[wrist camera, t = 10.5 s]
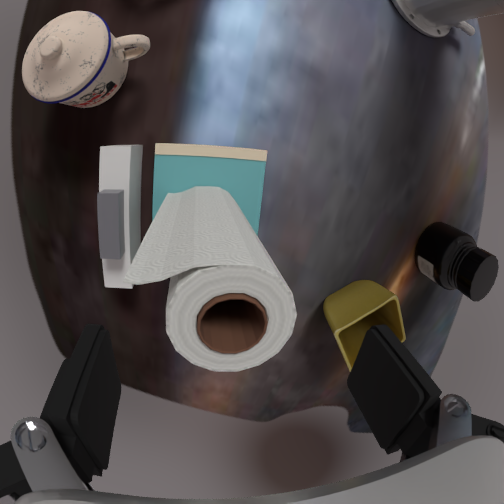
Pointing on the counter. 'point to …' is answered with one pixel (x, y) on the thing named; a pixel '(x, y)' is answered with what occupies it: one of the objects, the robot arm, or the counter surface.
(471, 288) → the ink bottle
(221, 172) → the pad
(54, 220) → the counter surface
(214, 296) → the paper towel roll
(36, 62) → the teacup with lid
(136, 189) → the block
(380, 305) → the flower pot
